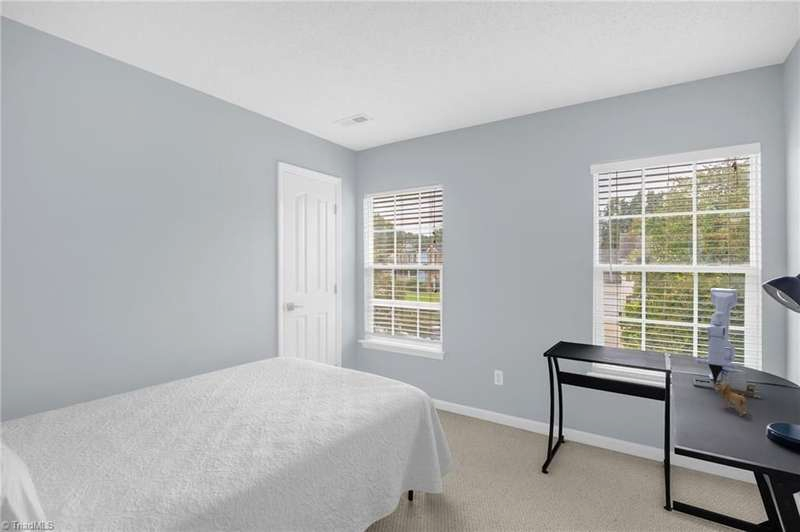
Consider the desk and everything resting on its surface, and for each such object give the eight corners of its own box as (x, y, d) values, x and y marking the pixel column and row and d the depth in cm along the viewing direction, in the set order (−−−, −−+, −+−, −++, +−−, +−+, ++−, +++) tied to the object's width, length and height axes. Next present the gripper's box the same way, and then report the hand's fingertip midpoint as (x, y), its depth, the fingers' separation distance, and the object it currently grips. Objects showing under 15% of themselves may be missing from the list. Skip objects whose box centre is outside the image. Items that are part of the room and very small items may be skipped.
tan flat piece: (714, 383, 181) (714, 377, 181) (754, 389, 173) (754, 384, 173) (717, 390, 169) (717, 385, 169) (760, 398, 161) (760, 392, 161)
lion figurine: (711, 403, 153) (712, 380, 153) (725, 403, 153) (726, 381, 153) (744, 418, 138) (745, 393, 138) (759, 418, 138) (760, 393, 138)
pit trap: (692, 380, 184) (693, 378, 184) (711, 383, 180) (711, 381, 180) (693, 386, 175) (694, 384, 175) (713, 389, 171) (713, 387, 171)
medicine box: (738, 388, 173) (739, 369, 173) (747, 392, 169) (748, 372, 169) (720, 387, 174) (721, 368, 174) (727, 390, 169) (728, 371, 169)
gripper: (696, 350, 176) (695, 380, 176) (738, 356, 167) (737, 387, 167) (695, 348, 182) (694, 377, 182) (736, 353, 173) (735, 383, 173)
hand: (714, 381), depth 175 cm, fingers closed
